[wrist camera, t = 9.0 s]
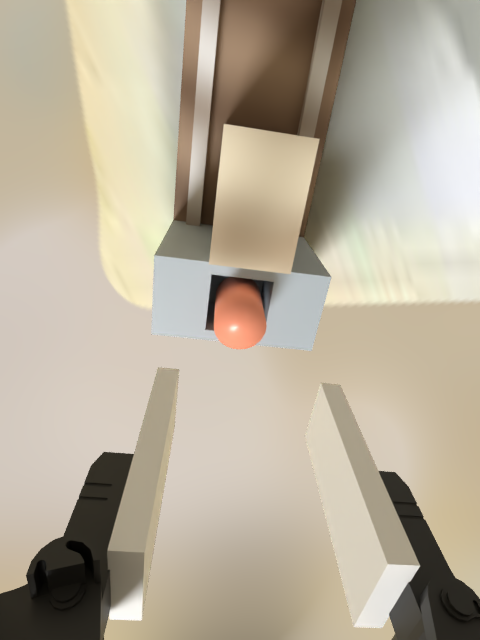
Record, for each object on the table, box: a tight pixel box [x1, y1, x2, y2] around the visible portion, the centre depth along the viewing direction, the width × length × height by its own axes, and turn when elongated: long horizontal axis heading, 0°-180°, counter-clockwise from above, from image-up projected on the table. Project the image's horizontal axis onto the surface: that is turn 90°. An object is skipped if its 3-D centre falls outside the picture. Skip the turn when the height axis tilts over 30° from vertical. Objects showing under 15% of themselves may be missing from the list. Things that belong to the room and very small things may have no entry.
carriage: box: [209, 124, 320, 274], centre depth 22 cm, size 6×4×11 cm, turn 172°
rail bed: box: [174, 0, 356, 237], centre depth 24 cm, size 26×10×4 cm, turn 172°
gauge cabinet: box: [152, 220, 331, 351], centre depth 27 cm, size 5×10×10 cm, turn 82°
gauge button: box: [214, 277, 267, 349], centre depth 22 cm, size 3×3×4 cm
